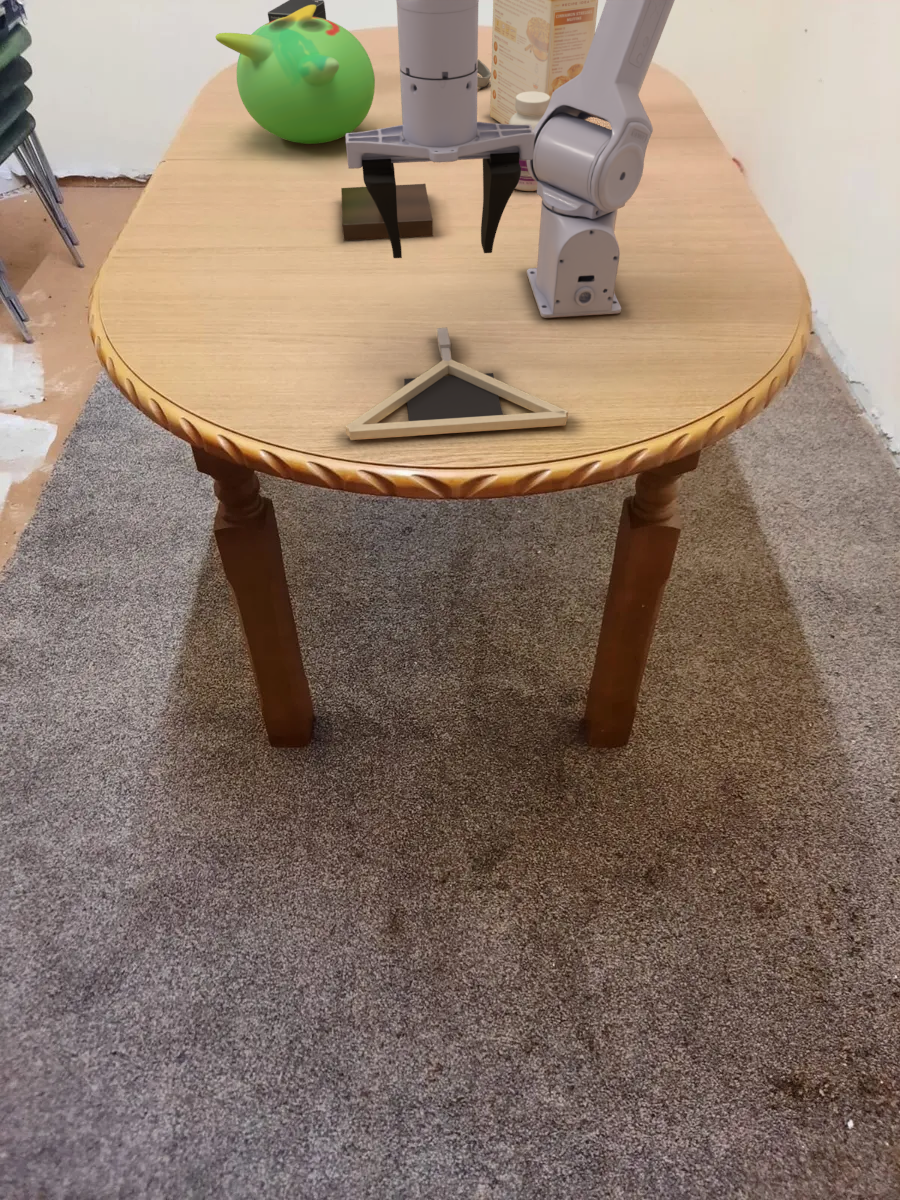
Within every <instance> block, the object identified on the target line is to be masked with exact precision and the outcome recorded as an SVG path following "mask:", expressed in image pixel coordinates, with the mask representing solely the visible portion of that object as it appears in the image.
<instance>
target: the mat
mask: <svg viewBox="0 0 900 1200" xmlns="http://www.w3.org/2000/svg"><path fill="white" fill-rule="evenodd" d="M484 374H485V375H488V376H490V377H492V378H494V379H495V376H494V375H495V374H494V372H488V373H487V372H486V373H484ZM416 378H417V377H409V378H404V386H405V385H407V384H408V383H410V382H411V381H413V380H414V379H416ZM406 407H407V416H408V421H421V420H436V419H451V418H465V417H480V416H495V415H504V413H503V409H502V405H501V401H500V396H498V395H496V394H493V393H491V392H489V391H487V390H485V389H482V388H480V387H478V386H476V385H474V384H471V383H469V382H467V381H465V380H463V379H460V378H458V377H456V376H454V375H445V376H444V377H442V378H441V379H439V380H438V381H437V382H435V383H434V384H432V385H431V386H429V387H428V388H426V389H425V390H424V391H422V392H421V393H419V394H418V395H416V396H415V397H413V398H412V399H411V400H409V401H408V402H406Z"/></svg>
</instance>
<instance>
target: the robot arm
mask: <svg viewBox="0 0 900 1200" xmlns="http://www.w3.org/2000/svg"><path fill="white" fill-rule="evenodd" d="M395 1H396V17H397V19H396V20H397V36H398V37H397V39H398V58H399V60H398V61H399V62H398V63H399V79H400V101H401V102H400V103H401V120H402V121H401V123H402V124H399V125H393V126H388V127H383V128H377V129H376V128H375V129H371V130H365V131H357V132H351V133H346V136H345V147H346V158H347V167H348V169H351V170H352V169H362V177H363V179H362V180H363V182H364V185H365V187H366V188H367V190H368V192H369V193H370V195H371V197H372V199H373V200H374V202H375V204H376V206H377V208H378V210H379V212H380V214H381V217H382V219H383V221H384V224H385V226H386V229H387V232H388V235H389V238H388V239H389V242H390V246H391V250H392V258H393V259H402V256H403V255H402V253H403V251H402V243H401V238H400V234H399V227H398V220H397V199H396V185H397V183H396V174H395V173H396V172H395V166H394V165H395V164H405V163H423V162H427V163H428V162H432V163H453V162H457V161H464V160H482V187H483V188H482V195H483V196H482V211H481V224H480V244H481V247H482V251H483V254H493V247H494V243H495V238H496V235H497V231H498V227H499V224H500V221H501V219H502V216H503V213H504V211H505V209H506V206H507V204H508V203H509V200H510V198H511V196H512V195H513V193H514V191H515V190H516V189H515V188H516V186H517V184H518V182H519V179H520V175H521V166H520V164H519V159H520V160H526V161H527V168H528V171H529V174H530V176H531V177H532V178H533V179H534V180H535V181H536V182H538V184H537V190H536V195H537V196H539V197H540V198H541V205H540V206H541V207H540V208H541V209H540V219H539V220H540V221H539V232H538V233H539V235H538V248H537V249H538V250H537V261H536V267H529V268H528V269H527V270H526V276H527V279H528V282H529V285H530V288H531V290H532V294H533V297H534V300H535V302H536V305H537V308H538V311H539V315H540V316H541V318H545V319H549V318H566V317H581V316H599V315H616V314H620V313H621V312H622V306H621V304H620V301H619V300H618V298H617V295H616V293H615V289H616V282H617V276H618V269H619V261H620V257H621V256H620V254H621V253H620V250H621V249H620V245H619V242H618V239H617V237H616V232H615V230H616V223H617V217H618V210H619V209H621V208H624V207H625V205H626V203H628V201H629V200H630V199H632V197H633V195H634V194H635V192H636V190H637V189H638V187H639V184H640V183H641V179H642V177H643V172H644V168H645V157H646V152H647V147H648V145H649V141H650V139H651V136H652V134H653V132H654V128H653V124H652V122H651V120H650V118H649V115H648V113H647V111H646V109H645V107H644V105H643V103H642V100H641V98H640V95H639V94H640V92H641V89H642V87H643V84H644V81H645V79H646V76H647V73H648V71H649V68H650V65H651V63H652V61H653V58H654V56H655V54H656V51H657V48H658V45H659V42H660V40H661V37H662V36H663V35H662V34H663V32H664V29H665V26H666V24H667V22H668V19H669V17H670V13H671V11H672V9H673V6H674V3H675V0H605V2H604V6H603V9H602V12H601V14H600V17H599V21H598V23H597V25H596V28H595V35H594V38H593V40H592V43H591V46H590V49H589V52H588V55H587V58H586V61H585V63H584V66H583V69H582V72H581V73H580V74H579V75H577V76H576V77H575V78H573V79H571V80H570V81H568V82H567V83H565V84H563V85H562V86H560V87H559V88H558V89H556V90H555V91H554V92H553V93H552V96H551V99H550V102H549V105H548V108H547V110H546V112H545V113H544V115H543V117H542V118H541V119H540V121H539V122H538V124H537V125H536V127H535V128H534V130H533V129H532V127H531V125H530V124H529V125H511V124H501V123H496V122H483V121H478V87H477V84H478V83H477V80H478V76H479V73H478V59H479V2H480V1H479V0H395ZM590 118H595V119H598V120H601V121H603V122H607V123H608V124H609V126H610V128H607V127H606V126H603V125H600V124H597V123H594V122H592V121H589V120H588V119H590Z"/></svg>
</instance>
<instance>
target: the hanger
mask: <svg viewBox="0 0 900 1200" xmlns="http://www.w3.org/2000/svg"><path fill="white" fill-rule="evenodd" d="M436 340H437V347H438V352H439V356H440V358H441V360H440V361H439V362H438V363H436V364H435V365H433V366H432V367H430V368H429V369H428V370H426V371H425V372H422V374H420V375H418V376H417V377H415V378H416V379H414V380H413V381H411V382H410V383H408V384H407V385H405V384H404V386H402V387H401V388H399V389H398V390H397V391H395V392H393V393H392V394H391V395H389V396H388V397H386V398H384V400H381V401H380V402H379V403H377V404H376V405H374V406H373V407H371V408H370V409H368V410H367V411H366V412H364V413H362V414H361V415H359V416H357V418H355V419H354V420H352V421H351V422H349V423H348V424H345V426H344V427H345V435H346V436H348V437H349V441H355V440H357V441H359V440H369V439H370V440H371V439H372V440H374V439H385V438H401V437H417V436H430V435H443V434H457V433H474V432H489V431H504V430H516V429H530V428H533V429H534V428H546V427H560V426H561V427H562V426H566V425H567V421H568V420H569V419H568V418H569V410H567V409H564V408H563V407H561V406H558V405H555V404H553V403H551V402H549V401H546V400H544V399H542V398H539V397H538V396H536V395H533V394H531V393H528V392H526V391H524V390H522V389H519V388H517V387H515V386H513V385H510V384H508V383H506V382H503V381H501V380H499V379H497V378H495V377H494V378H492V377H490V376H488V375H485V374H486V373H483V372H481V371H479V370H476V369H475V368H472V367H469V366H467V365H465V364H463V363H461V362H459V361H456V360H454V359H452V352H451V351H452V350H451V345H452V343H451V339H450V334H449V328H448V327H437V328H436ZM448 374H449V375H450V376H456V377H458V378H460V379H463V380H465V381H467V382H469V383H471V384H474V385H476V386H478V387H480V388H482V389H485V390H487V391H489V392H491V393H493V394H496V395H498V396H499V398H502V399H505V400H507V401H509V402H511V403H513V404H515V405H517V406H520V407H522V408H525V409H526V410H529V411H530V412H528V413H527V412H526V413H512V414H511V413H510V414H503V415H495V416H480V417H465V418H451V419H436V420H421V421H409V420H408V421H407V420H406V421H394V422H380V421H382V420H383V419H386V417H387V416H389V415H391V414H393V412H395V411H396V410H398V409H399V408H401V407H402V406H403V405H405V404H407V402H408V401H409V400H411V399H412V398H413V397H415V396H416V395H418V394H419V393H421V392H422V391H424V390H425V389H426V388H428V387H429V386H431V385H432V384H434V383H435V382H437V381H438V380H439V379H441V378H442V377H444V376H448Z"/></svg>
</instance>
